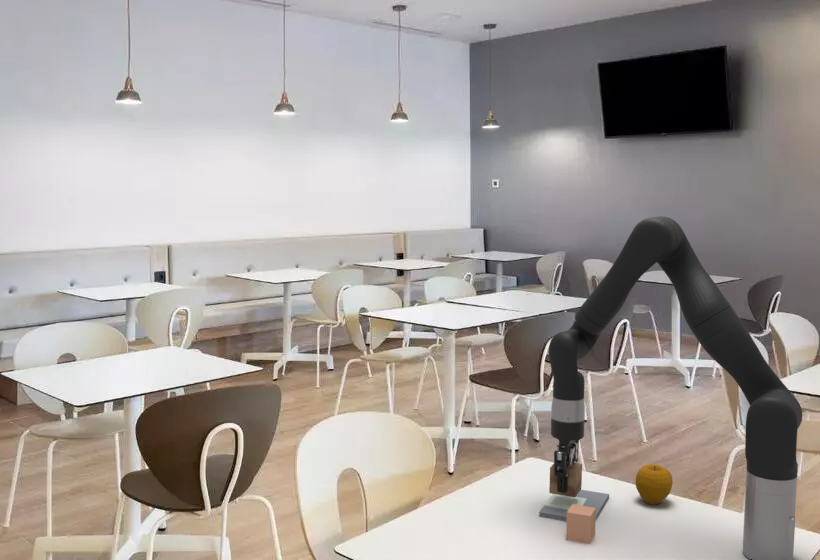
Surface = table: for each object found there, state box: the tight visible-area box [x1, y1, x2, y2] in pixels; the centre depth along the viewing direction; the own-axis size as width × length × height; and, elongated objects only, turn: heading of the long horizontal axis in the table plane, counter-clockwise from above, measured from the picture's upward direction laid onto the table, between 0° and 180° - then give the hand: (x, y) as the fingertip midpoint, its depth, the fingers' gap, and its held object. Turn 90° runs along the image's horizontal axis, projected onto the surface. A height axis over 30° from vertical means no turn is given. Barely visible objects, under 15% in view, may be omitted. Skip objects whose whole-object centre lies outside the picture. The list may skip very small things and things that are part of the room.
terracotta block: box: [565, 504, 597, 545], centre depth 171 cm, size 5×5×6 cm
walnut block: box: [548, 462, 583, 497], centre depth 187 cm, size 6×6×6 cm
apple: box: [635, 463, 674, 505], centre depth 191 cm, size 8×8×9 cm
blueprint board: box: [538, 489, 610, 522], centre depth 188 cm, size 12×18×1 cm, turn 155°
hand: (565, 487), depth 187 cm, fingers closed on walnut block, 6 cm apart
